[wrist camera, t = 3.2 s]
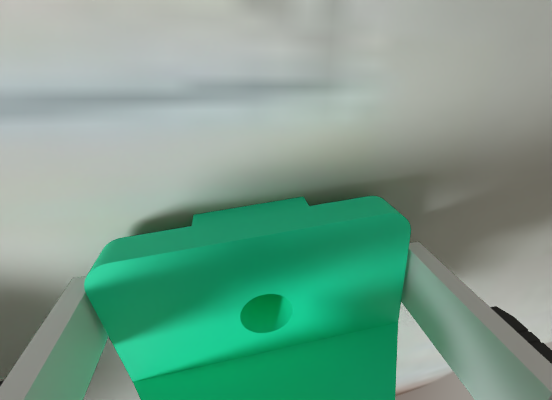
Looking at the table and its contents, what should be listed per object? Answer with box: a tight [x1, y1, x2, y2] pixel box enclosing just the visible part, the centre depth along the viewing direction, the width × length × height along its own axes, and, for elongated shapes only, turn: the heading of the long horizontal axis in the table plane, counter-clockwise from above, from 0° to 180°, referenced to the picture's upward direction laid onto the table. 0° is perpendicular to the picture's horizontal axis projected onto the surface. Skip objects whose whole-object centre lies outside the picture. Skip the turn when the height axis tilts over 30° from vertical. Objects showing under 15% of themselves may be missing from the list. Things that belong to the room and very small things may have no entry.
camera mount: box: [84, 196, 411, 400], centre depth 10 cm, size 12×8×10 cm, turn 96°
